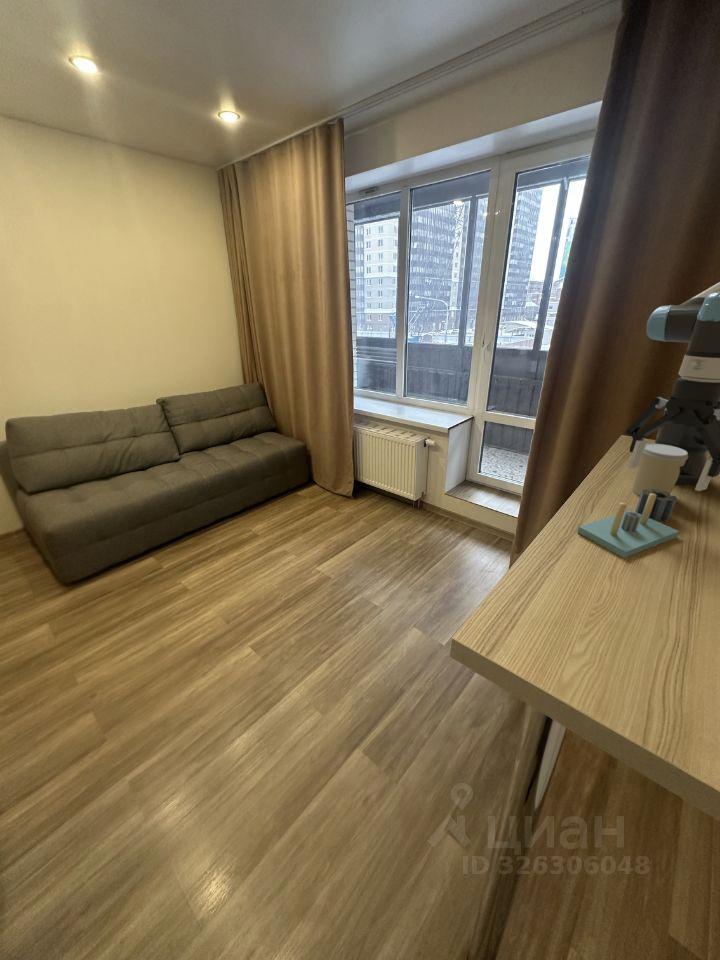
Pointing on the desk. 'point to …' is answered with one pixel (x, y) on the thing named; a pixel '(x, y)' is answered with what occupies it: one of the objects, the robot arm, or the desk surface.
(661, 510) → the gear
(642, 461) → the coffee cup
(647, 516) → the carrier
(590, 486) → the desk surface
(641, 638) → the desk surface
